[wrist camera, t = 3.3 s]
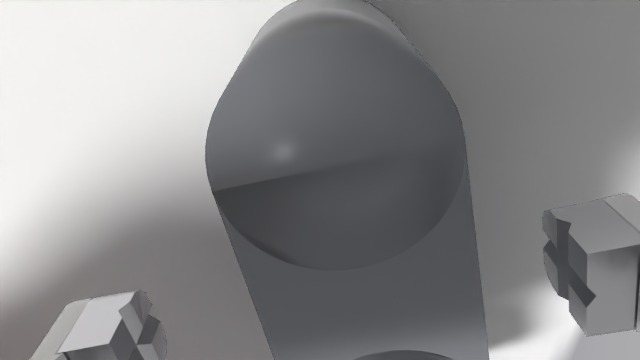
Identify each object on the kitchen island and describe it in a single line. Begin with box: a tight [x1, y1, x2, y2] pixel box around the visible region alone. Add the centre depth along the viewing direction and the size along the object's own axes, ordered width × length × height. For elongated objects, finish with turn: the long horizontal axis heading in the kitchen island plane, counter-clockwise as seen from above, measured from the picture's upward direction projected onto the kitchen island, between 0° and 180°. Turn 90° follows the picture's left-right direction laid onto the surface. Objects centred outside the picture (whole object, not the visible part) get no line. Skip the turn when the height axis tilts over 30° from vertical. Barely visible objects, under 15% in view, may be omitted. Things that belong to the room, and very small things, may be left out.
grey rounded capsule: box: [205, 0, 489, 360], centre depth 11 cm, size 4×12×4 cm, turn 13°
